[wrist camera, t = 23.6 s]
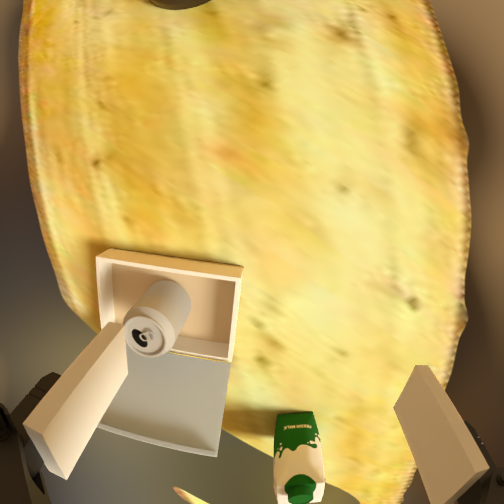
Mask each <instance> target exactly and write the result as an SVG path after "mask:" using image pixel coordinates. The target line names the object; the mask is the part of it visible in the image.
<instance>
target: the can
mask: <svg viewBox="0 0 504 504" xmlns="http://www.w3.org/2000/svg"><path fill="white" fill-rule="evenodd" d="M190 310H191V300H190V297H189V295H188V293H187V292H186V291H185V289H184V288H183V287H181V286H180V285H179V284H177V283H175V282H172V281H166V280H162V281H159V282H156V283H155V284H153V285H152V286H151V287H150V288H149V289H148V290H147V291H146V292H145V293H144V294H143V295H142V297H141V298H140V299H139V300H138V301H137V302H136V303H135V304H134V305H133V306H132V308H131V309H130V310H129V311H128V312H127V314H126V315H125V317H124V319H123V325H125V342H126V344H127V345H128V346H129V347H130V348H131V350H133V351H134V352H135V353H137V354H139V355H141V356H143V357H149V358H153V357H158V356H160V355H163V354H165V353H167V352H168V351H170V349H171V348H172V347H173V345H174V343H175V341H176V339H177V337H178V335H179V333H180V331H181V329H182V328H183V326H184V324H185V322H186V320H187V318H188V316H189V314H190Z"/></svg>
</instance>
